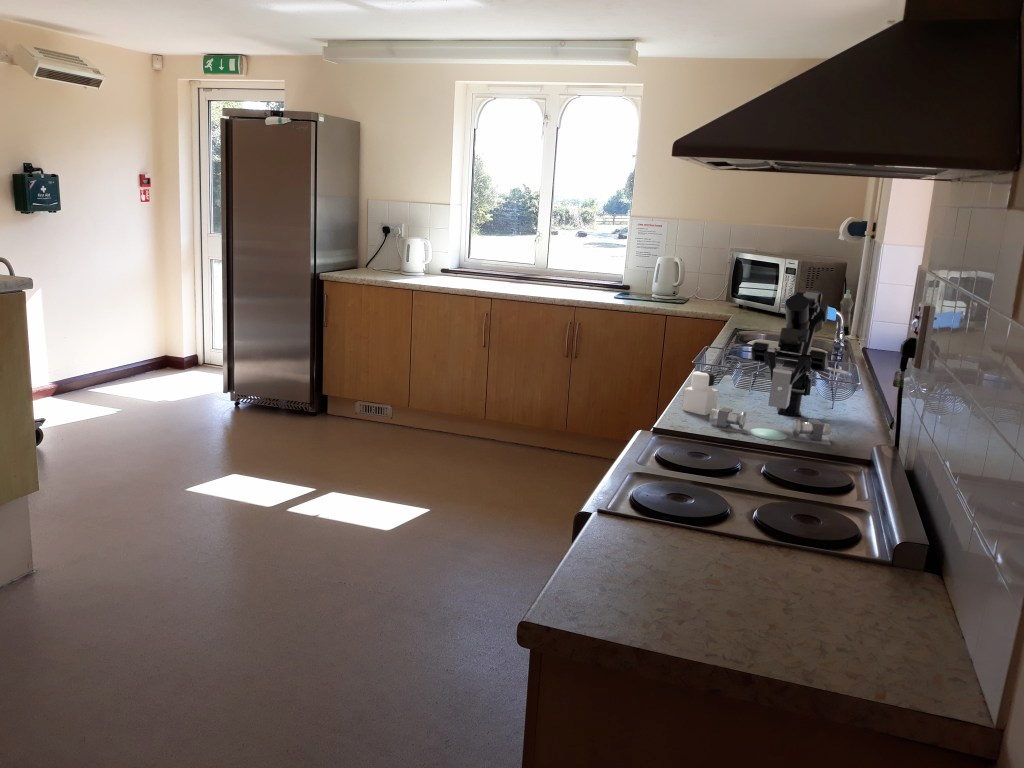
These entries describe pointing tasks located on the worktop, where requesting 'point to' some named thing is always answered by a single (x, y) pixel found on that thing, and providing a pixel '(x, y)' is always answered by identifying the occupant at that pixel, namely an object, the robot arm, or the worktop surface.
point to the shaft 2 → (811, 429)
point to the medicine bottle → (700, 394)
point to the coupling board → (768, 432)
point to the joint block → (781, 387)
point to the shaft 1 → (727, 418)
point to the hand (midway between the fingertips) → (781, 382)
